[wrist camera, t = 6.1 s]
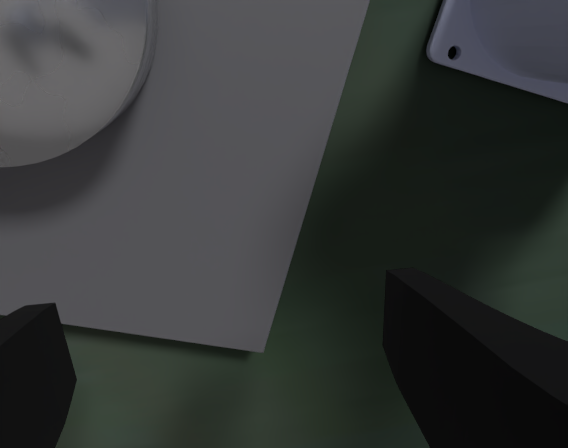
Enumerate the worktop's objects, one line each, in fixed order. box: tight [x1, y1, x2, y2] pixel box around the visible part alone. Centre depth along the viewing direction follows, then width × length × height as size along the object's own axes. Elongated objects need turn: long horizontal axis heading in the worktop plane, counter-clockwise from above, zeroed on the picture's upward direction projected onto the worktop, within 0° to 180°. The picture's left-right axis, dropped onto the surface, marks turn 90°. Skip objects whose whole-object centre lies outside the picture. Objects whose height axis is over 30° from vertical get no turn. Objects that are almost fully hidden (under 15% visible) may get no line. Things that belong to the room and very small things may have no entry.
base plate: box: [0, 0, 370, 353], centre depth 14 cm, size 22×23×2 cm
